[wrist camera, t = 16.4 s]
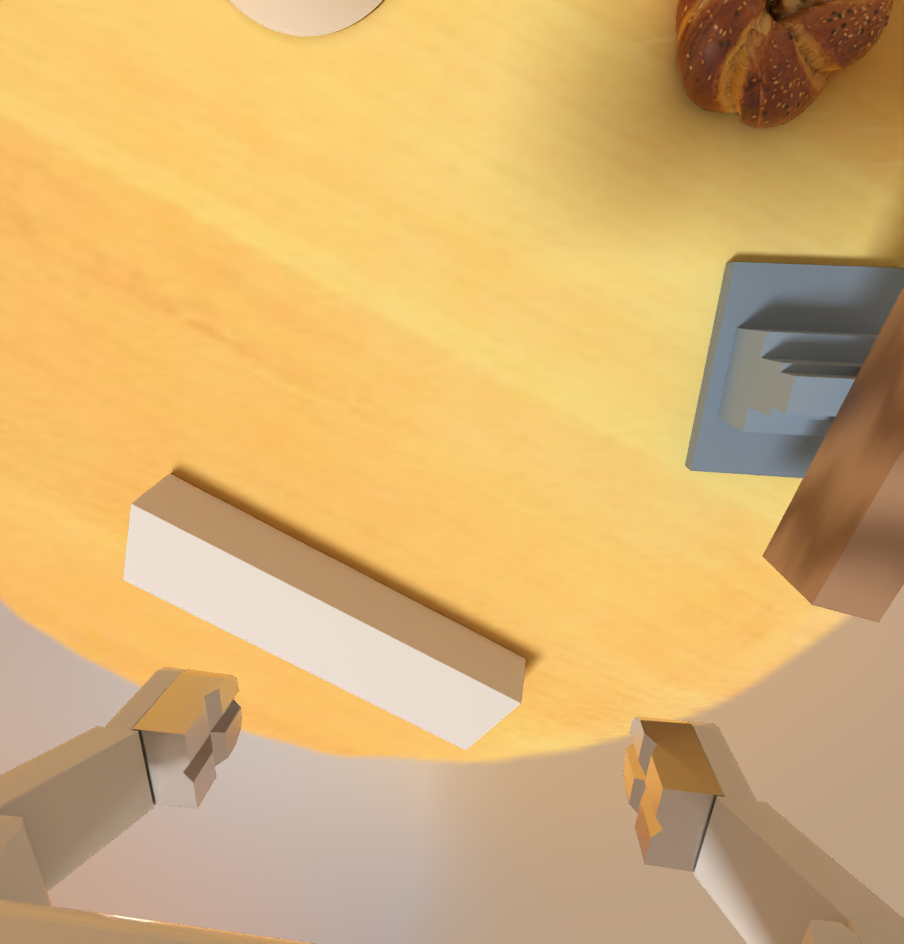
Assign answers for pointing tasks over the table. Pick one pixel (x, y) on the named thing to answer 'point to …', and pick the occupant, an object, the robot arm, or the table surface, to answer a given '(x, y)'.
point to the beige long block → (318, 613)
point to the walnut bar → (853, 494)
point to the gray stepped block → (784, 362)
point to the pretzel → (770, 52)
